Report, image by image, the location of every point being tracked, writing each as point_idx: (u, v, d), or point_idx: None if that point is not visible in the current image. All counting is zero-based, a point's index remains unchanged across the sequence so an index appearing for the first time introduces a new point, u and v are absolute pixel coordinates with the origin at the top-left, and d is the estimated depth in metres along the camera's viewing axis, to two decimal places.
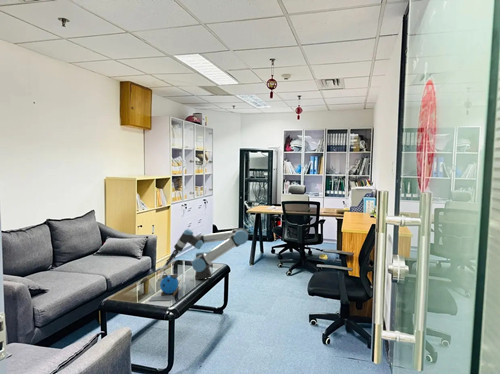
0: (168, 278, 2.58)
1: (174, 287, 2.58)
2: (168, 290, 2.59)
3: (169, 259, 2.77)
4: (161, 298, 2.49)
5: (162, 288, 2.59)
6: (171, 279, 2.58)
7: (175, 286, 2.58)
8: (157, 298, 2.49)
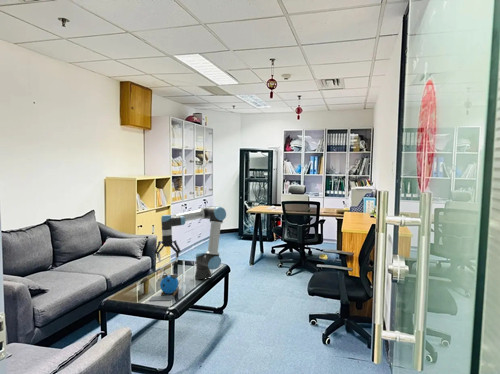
0: (168, 278, 2.58)
1: (174, 287, 2.58)
2: (168, 290, 2.59)
3: (179, 249, 2.60)
4: (161, 298, 2.49)
5: (162, 288, 2.59)
6: (171, 279, 2.58)
7: (175, 286, 2.58)
8: (157, 298, 2.49)
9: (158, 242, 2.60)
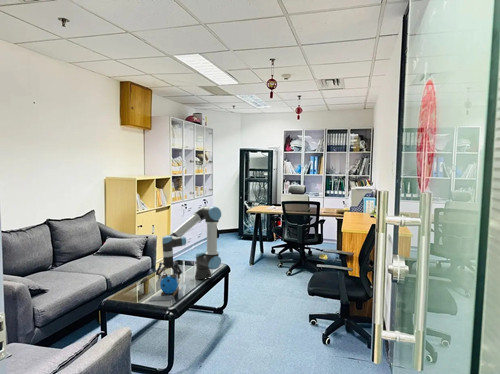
0: (168, 278, 2.58)
1: (174, 287, 2.58)
2: (168, 290, 2.59)
3: (180, 270, 2.60)
4: (161, 298, 2.49)
5: (162, 288, 2.59)
6: (171, 279, 2.58)
7: (175, 286, 2.58)
8: (157, 298, 2.49)
9: (159, 263, 2.60)
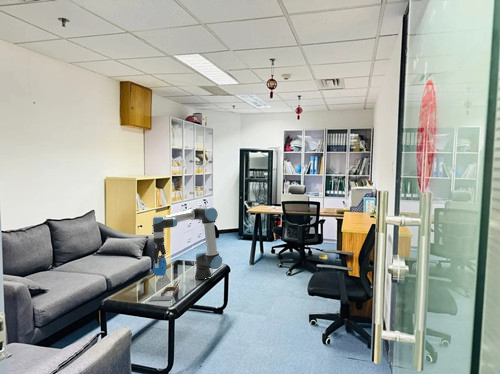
0: (163, 259, 2.50)
1: (165, 267, 2.55)
2: (164, 271, 2.50)
3: None
4: (161, 298, 2.49)
5: (161, 271, 2.46)
6: (164, 259, 2.53)
7: (166, 266, 2.56)
8: (157, 298, 2.49)
9: (157, 246, 2.43)
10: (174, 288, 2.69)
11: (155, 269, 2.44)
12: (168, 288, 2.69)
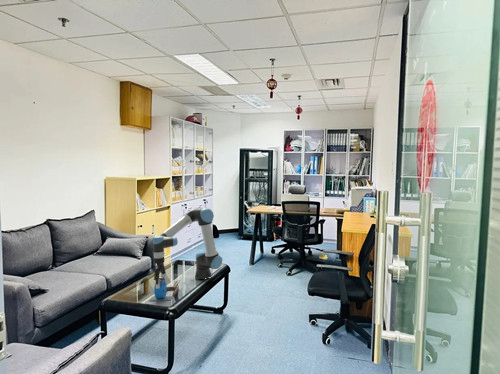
0: (164, 281, 2.50)
1: (166, 289, 2.54)
2: (164, 294, 2.50)
3: None
4: (161, 298, 2.49)
5: (163, 293, 2.45)
6: (165, 281, 2.52)
7: (166, 287, 2.55)
8: None
9: (158, 267, 2.43)
10: (174, 288, 2.69)
11: (156, 292, 2.43)
12: (168, 288, 2.69)
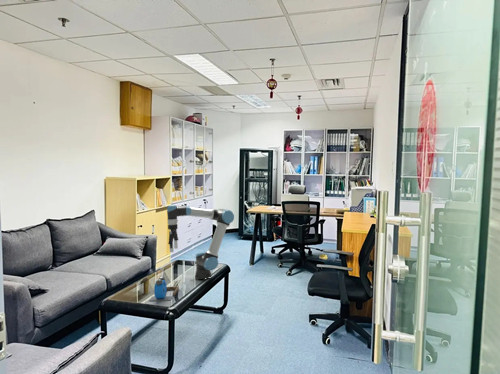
0: (164, 281, 2.50)
1: (166, 289, 2.54)
2: (164, 294, 2.50)
3: None
4: (161, 298, 2.49)
5: (163, 293, 2.45)
6: (165, 281, 2.52)
7: (166, 287, 2.55)
8: None
9: (172, 232, 2.64)
10: (174, 288, 2.69)
11: (156, 292, 2.43)
12: (168, 288, 2.69)
